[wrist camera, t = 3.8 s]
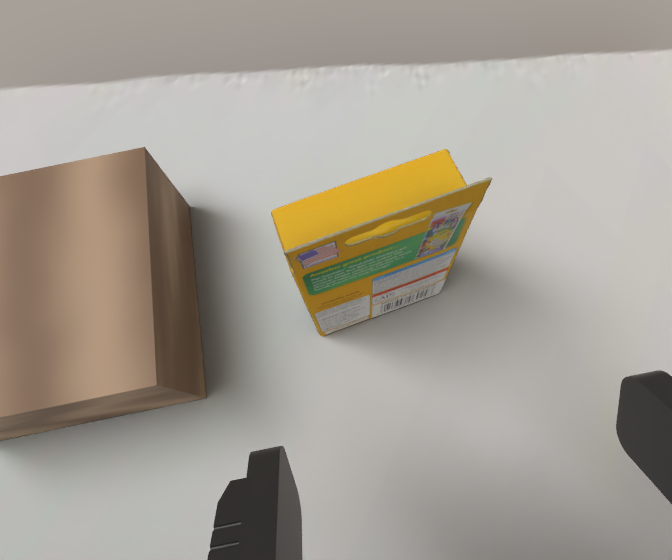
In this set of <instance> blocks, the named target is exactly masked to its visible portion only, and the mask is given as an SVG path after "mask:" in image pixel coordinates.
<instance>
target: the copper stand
mask: <svg viewBox="0 0 672 560" xmlns="http://www.w3.org/2000/svg"><path fill="white" fill-rule="evenodd" d="M204 398H206V389H205V377H204V366H203V355H202V344H201V332H200V321H199V310H198V298H197V287H196V276H195V265H194V253H193V242H192V231H191V219H190V208H189V205H188V204H187V202H186V201H185V200H184V198H183V197H182V196H181V194H180V193H179V192H178V190H177V189H176V188H175V187H174V185H173V184H172V183H171V181H170V180H169V179H168V177H167V176H166V175H165V173H164V172H163V171H162V169H161V168H160V167H159V165H158V164H157V163H156V162H155V160H154V159H153V158H152V156H151V155H150V154H149V152H148V151H147V150H146V148H145V147H143V148H138V149H133V150H128V151H123V152H118V153H113V154H108V155H103V156H98V157H94V158H89V159H84V160H79V161H74V162H69V163H64V164H59V165H54V166H49V167H44V168H39V169H35V170H30V171H25V172H20V173H15V174H10V175H5V176H0V440H5V439H10V438H15V437H20V436H25V435H30V434H34V433H39V432H44V431H49V430H54V429H59V428H63V427H68V426H73V425H78V424H83V423H88V422H92V421H97V420H102V419H107V418H112V417H117V416H122V415H126V414H131V413H136V412H141V411H146V410H151V409H155V408H160V407H165V406H170V405H175V404H180V403H185V402H189V401H194V400H199V399H204Z"/></svg>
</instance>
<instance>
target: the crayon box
mask: <svg viewBox="0 0 672 560" xmlns="http://www.w3.org/2000/svg"><path fill="white" fill-rule="evenodd" d="M491 180H492V178H491V177H489V178H486V179H485V180H482V181H479V182H475V183H472V184H470V185H466V183H465V181H464V179H463V177H462V175H461V174H460V172H459V170H458V168H457V167H456V165H455V163H454V161H453V160H452V158H451V156H450V153H449V151H448V150H446V149H444V150H441V151H438V152H435V153H433V154H430V155H427V156H424V157H421V158H418V159H415V160H413V161H409V162H407V163H404V164H401V165H398V166H395V167H393V168H390V169H387V170H384V171H381V172H378V173H375V174H373V175H370V176H366V177H363V178H361V179H358V180H355V181H352V182H349V183H347V184H344V185H341V186H338V187H335V188H333V189H330V190H327V191H324V192H321V193H319V194H316V195H313V196H310V197H307V198H304V199H302V200H299V201H296V202H293V203H291V204H288V205H285V206H282V207H280V208H277V209H275V210H273V211H272V212H271V215H272V218H273V221H274V224H275V227H276V230H277V233H278V236H279V239H280V242H281V245H282V248H283V251H284V254H285V256H286V259H287V262H288V265H289V268H290V271H291V273H292V275H293V277H294V280H295V282H296V284H297V286H298V288H299V291H300V293H301V295H302V298H303V300H304V302H305V305H306V306H307V309H308V311H309V313H310V315H311V317H312V319H313V321H314V323H315V326H316V328H317V330H318V333H319V334H320V335H321V336H325V335H328V334H330V333H332V332H335V331H338V330H341V329H343V328H346V327H349V326H351V325H354V324H357V323H359V322H362V321H365V320H367V319H370V318H374V317H376V316H379V315H382V314H385V313H387V312H390V311H393V310H396V309H398V308H401V307H404V306H406V305H409V304H412V303H414V302H417V301H420V300H422V299H425V298H428V297H431V296H434V295H436V294H439V293H440V292H441V289H442V287H443V285H444V283H445V280H446V278H447V275H448V273H449V271H450V268H451V266H452V264H453V262H454V260H455V258H456V255H457V253H458V251H459V248H460V246H461V244H462V242H463V239H464V237H465V235H466V232H467V230H468V228H469V226H470V224H471V221H472V219H473V217H474V215H475V212H476V210H477V208H478V207H479V205H480V203H481V201H482V200H483V197H484V195H485V193H486V190H487V188H488V187H489V185H490V183H491Z"/></svg>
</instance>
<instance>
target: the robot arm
mask: <svg viewBox="0 0 672 560" xmlns="http://www.w3.org/2000/svg"><path fill="white" fill-rule="evenodd" d="M616 429H617V435H618V438H619V441H620V443H621V445H622V447H623V449H624V450H625V452H626V453H627V454H628V455H629V457H630V458H631V459H632V460H633V461H634V462H635V463H636V464H637V466H638V467H639V468H640V469H641V470H642V471H643V472H644V473H645V475H646V476H647V477H648V478H649V479H650V480H651V481H652V482H653V484H654V485H655V486H656V487H657V488H658V489H659V490H660V491H661V493H662V494H663V495H664V496H665V497H666V498H667V499H668V500H669V502H670V503H671V504H672V376H670V375H669V374H668V373H666V372H664V371H653V372H648V373H643V374H638V375H633V376H629V377H625V378H624V379H623V380H622V383H621V390H620V398H619V407H618V415H617V424H616ZM208 560H302V519H301V507H300V500H299V495H298V491H297V487H296V484H295V481H294V478H293V474H292V471H291V468H290V465H289V462H288V458H287V455H286V452H285V449H284V447H283V446H278V447H273V448H269V449H264V450H259V451H254V452H251V453H250V456H249V462H248V470H247V478H243V479H238V480H233V481H230V483H229V484H228V486H227V488H226V490H225V491H224V493H223V495H222V497H221V498H220V500H219V502H218V505H217V510H216V516H215V521H214V531H213V532H212V538H211V544H210V552H209V555H208Z"/></svg>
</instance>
